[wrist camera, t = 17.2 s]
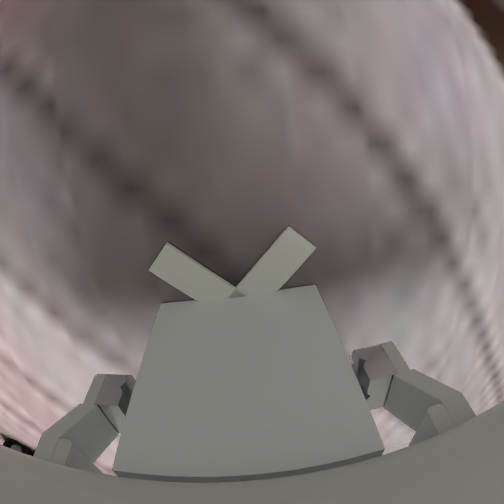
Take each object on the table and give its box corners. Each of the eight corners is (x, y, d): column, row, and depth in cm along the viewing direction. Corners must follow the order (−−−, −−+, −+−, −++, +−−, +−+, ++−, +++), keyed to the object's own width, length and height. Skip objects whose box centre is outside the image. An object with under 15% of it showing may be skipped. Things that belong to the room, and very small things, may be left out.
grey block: (160, 303, 14) (111, 470, 6) (315, 284, 14) (385, 448, 6) (195, 399, 17) (186, 528, 9) (314, 385, 17) (347, 513, 9)
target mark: (117, 318, 14) (116, 321, 14) (217, 172, 12) (216, 173, 12) (254, 391, 17) (254, 393, 17) (366, 287, 14) (367, 289, 14)
